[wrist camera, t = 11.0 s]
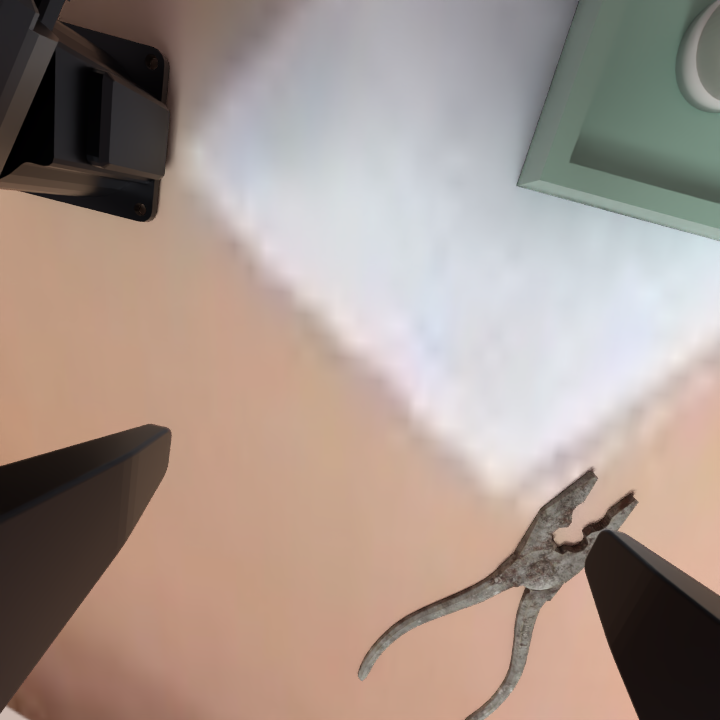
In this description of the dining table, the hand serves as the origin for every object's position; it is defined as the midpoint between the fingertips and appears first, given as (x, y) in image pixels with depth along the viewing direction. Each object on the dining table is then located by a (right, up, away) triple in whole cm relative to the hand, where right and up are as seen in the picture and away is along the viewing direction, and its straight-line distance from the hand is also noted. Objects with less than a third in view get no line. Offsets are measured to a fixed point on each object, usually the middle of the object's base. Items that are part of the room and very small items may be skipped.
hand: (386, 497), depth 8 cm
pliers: (+7, -11, +17) cm, 21 cm away
